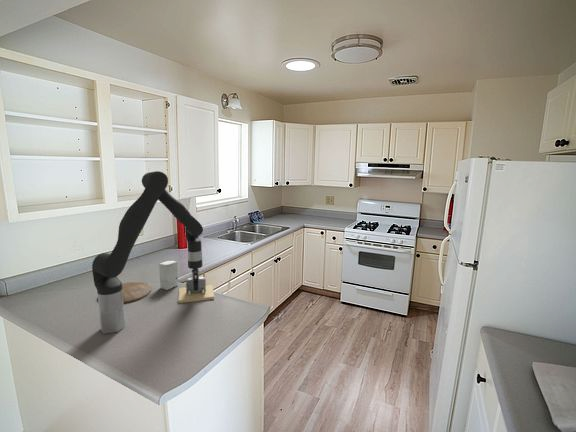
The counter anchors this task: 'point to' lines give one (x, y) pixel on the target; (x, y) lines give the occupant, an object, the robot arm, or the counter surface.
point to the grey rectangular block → (191, 286)
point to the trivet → (135, 291)
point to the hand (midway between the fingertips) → (196, 288)
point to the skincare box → (168, 274)
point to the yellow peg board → (196, 295)
